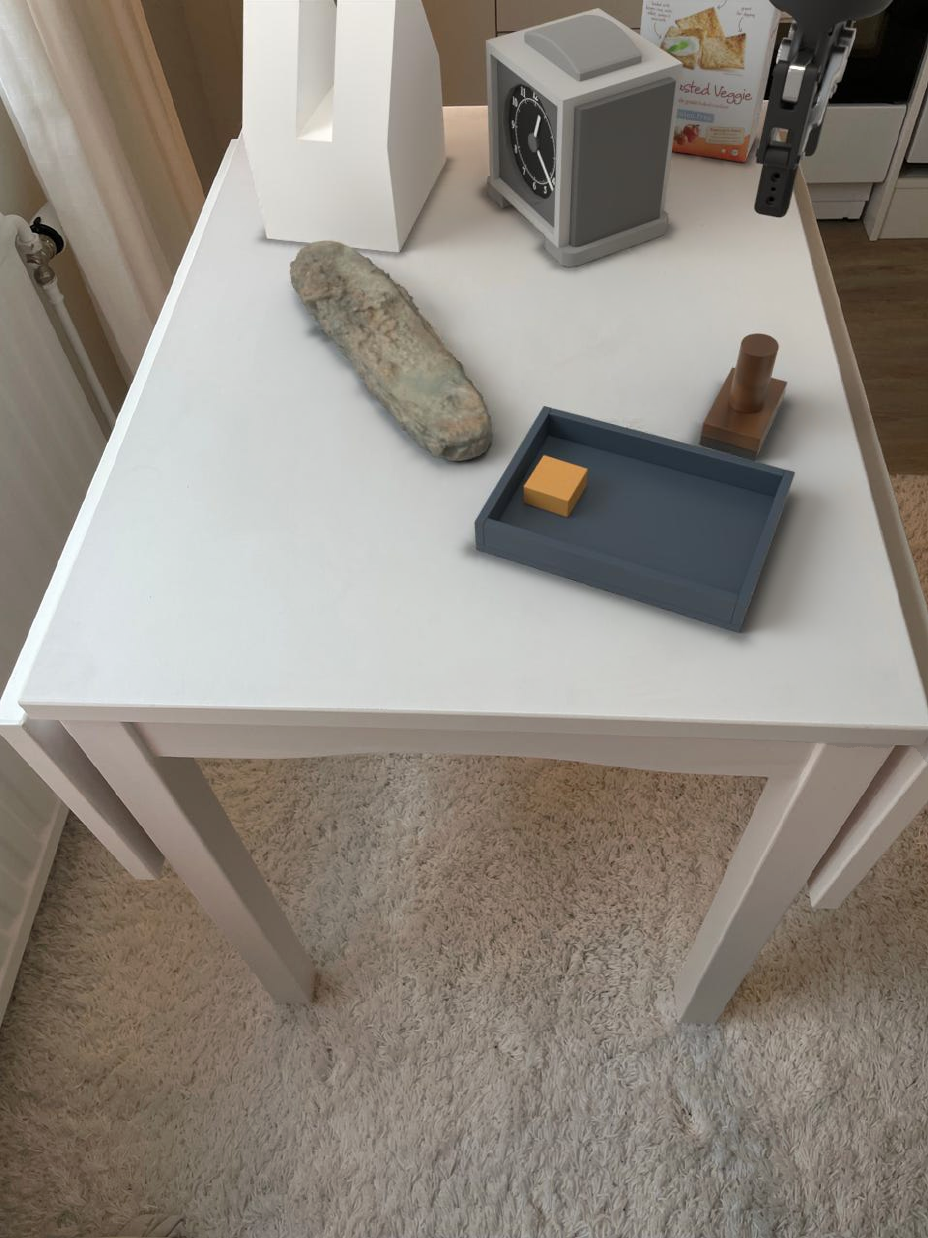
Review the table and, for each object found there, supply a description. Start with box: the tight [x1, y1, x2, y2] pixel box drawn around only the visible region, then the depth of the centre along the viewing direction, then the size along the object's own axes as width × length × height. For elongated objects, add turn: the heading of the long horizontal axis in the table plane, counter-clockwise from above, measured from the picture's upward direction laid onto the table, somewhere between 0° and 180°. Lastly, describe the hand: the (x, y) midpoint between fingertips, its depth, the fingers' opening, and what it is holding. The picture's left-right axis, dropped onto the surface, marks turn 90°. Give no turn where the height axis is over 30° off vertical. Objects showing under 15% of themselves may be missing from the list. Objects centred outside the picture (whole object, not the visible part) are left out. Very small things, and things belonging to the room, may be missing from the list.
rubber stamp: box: [698, 332, 788, 462], centre depth 81 cm, size 5×8×8 cm, turn 153°
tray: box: [473, 405, 796, 633], centre depth 77 cm, size 22×15×3 cm
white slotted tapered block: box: [241, 0, 447, 254], centre depth 100 cm, size 19×15×25 cm
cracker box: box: [639, 0, 782, 163], centre depth 105 cm, size 14×6×21 cm, turn 68°
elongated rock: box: [289, 241, 494, 462], centre depth 91 cm, size 35×5×10 cm
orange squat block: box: [524, 455, 588, 517], centre depth 79 cm, size 4×4×2 cm
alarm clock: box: [485, 7, 683, 268], centre depth 99 cm, size 18×13×18 cm
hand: (785, 181), depth 67 cm, fingers open, 8 cm apart
